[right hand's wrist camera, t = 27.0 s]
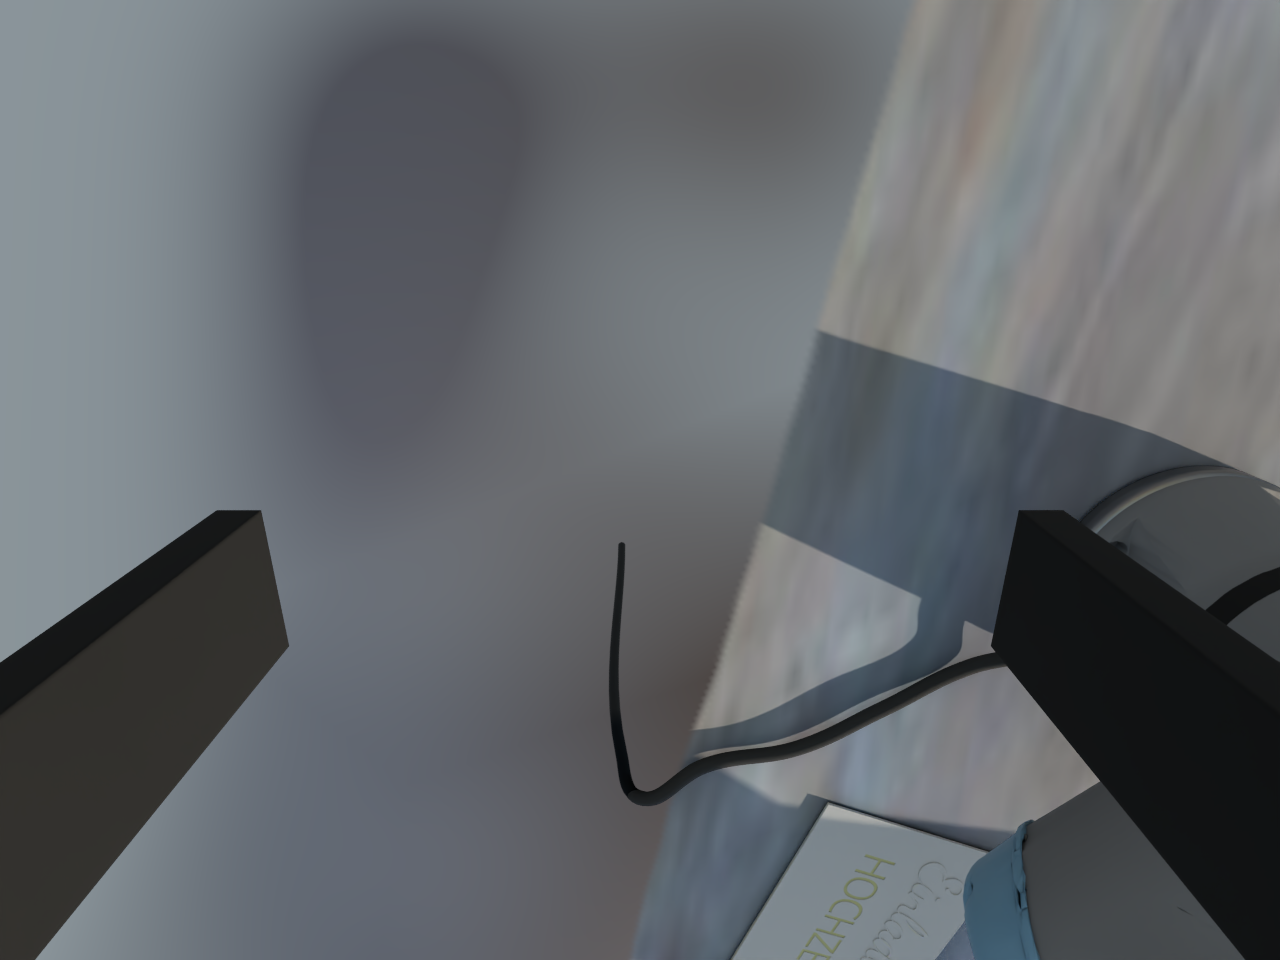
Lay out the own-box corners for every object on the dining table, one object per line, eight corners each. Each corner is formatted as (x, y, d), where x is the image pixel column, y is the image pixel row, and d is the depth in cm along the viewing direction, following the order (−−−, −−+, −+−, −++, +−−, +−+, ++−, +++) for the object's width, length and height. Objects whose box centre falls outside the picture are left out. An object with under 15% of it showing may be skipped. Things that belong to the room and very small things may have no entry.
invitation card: (828, 805, 50) (1011, 861, 52) (827, 802, 50) (1009, 858, 52) (711, 994, 57) (876, 1037, 59) (711, 990, 58) (875, 1034, 59)
